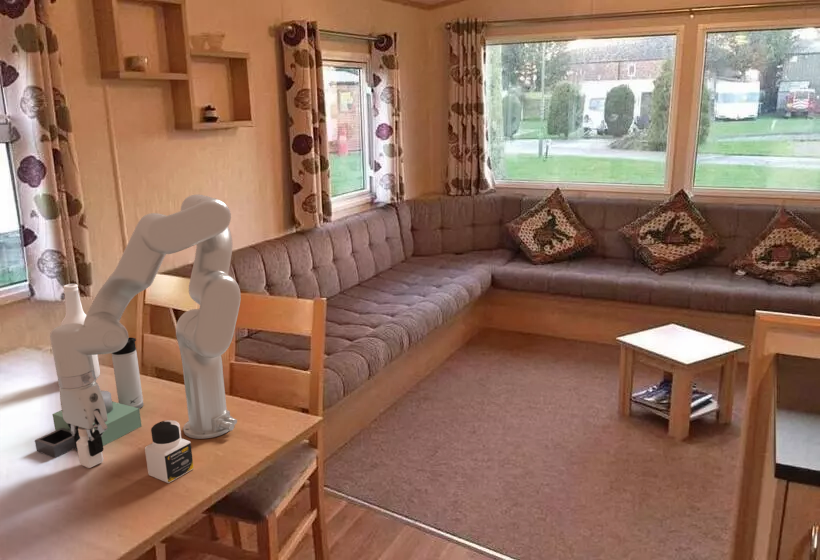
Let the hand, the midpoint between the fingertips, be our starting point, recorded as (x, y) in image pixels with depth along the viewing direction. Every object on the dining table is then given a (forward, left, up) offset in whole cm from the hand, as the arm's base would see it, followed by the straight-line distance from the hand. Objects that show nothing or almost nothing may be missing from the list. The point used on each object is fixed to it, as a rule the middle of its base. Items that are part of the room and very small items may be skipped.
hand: (89, 450), depth 153 cm
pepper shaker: (0, 0, -4) cm, 4 cm away
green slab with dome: (+14, -13, -4) cm, 19 cm away
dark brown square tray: (+14, -2, -4) cm, 15 cm away
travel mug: (+17, -26, -4) cm, 31 cm away
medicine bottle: (-20, -6, -4) cm, 21 cm away
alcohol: (+48, -34, -4) cm, 59 cm away
